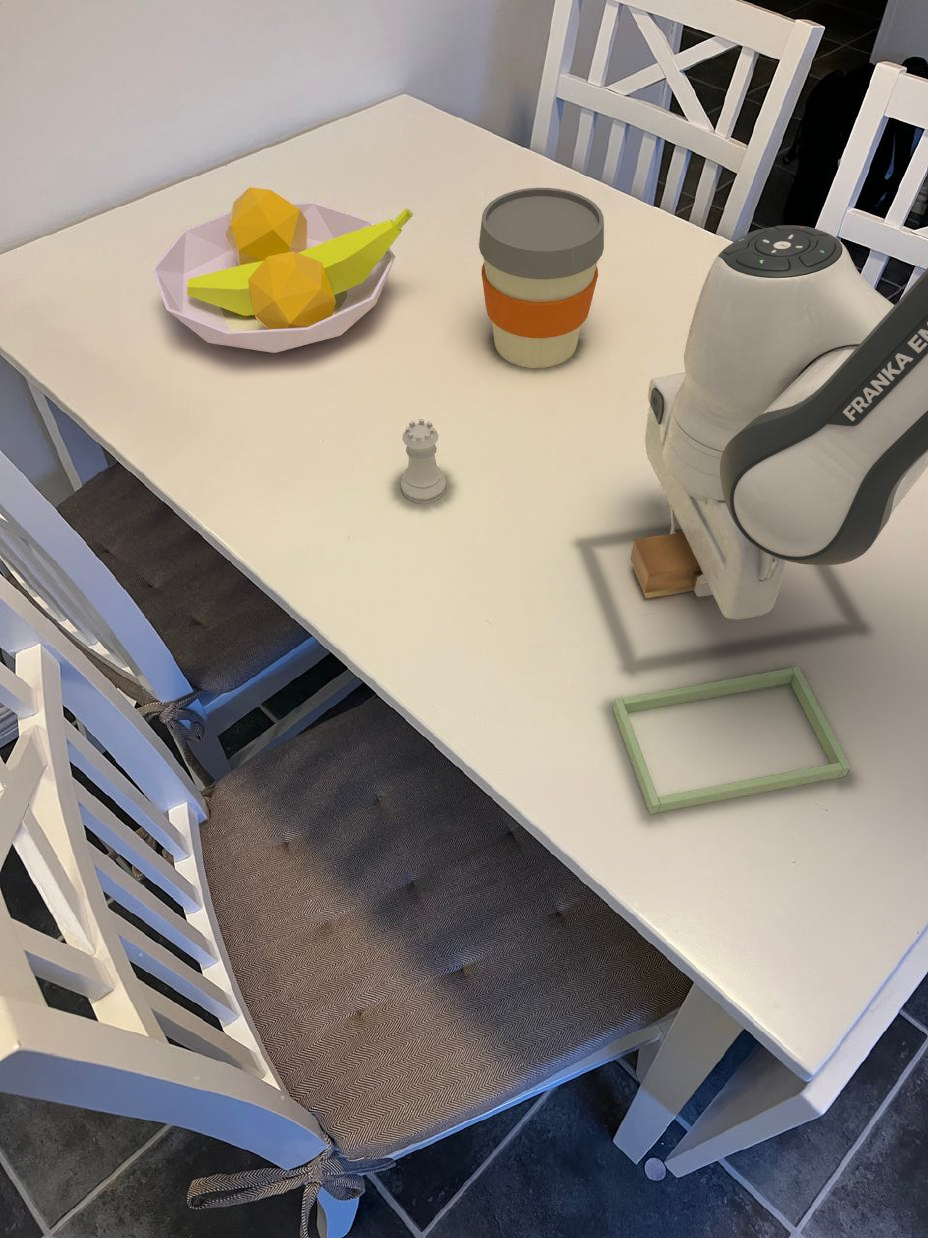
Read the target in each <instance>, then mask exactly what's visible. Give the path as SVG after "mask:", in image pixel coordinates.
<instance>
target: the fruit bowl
mask: <svg viewBox="0 0 928 1238" xmlns="http://www.w3.org/2000/svg"><path fill="white" fill-rule="evenodd" d="M413 216H414V213H413V212H412V211H411V210H410V208H406V207H405V208H404V209H403V211H402V212H400V214H398V216H396V218H395V219H394V220H392V219H389V220H385V221H381V222H379V223H376V224H374V223H373V221H372V220H369V219H367V218H363V217H360V216H357V215H354V214H351V213H347V212H345V211H342V210H338V209H335V208H334V207H333V208H332V207H330V206H326V205H323V204H321V203H317V202H305V203H304V202H302V203H301V202H300V203H291V202H290V201H288V200H286V199H285V198H284V197H283V196H281V195H279V194H278V193H277V192H274V191H273V190H272V189H268V188H258V187H250V186H249V187H248V188H247V189H246V190H245V191H243V193H242V194H240V195H239V196H238V198H236V199H235V200H234V201H233V203H232V207H231V210H230V212H226V213H224V214H222V215H220V216H217V217H215V218H212V219H209V220H207V221H204V222H202V223H200V224H199V223H198V224H197V225H194V226H191V227H189V228H187V229H184V230H182V232H181V233H180V234H179V236H178V237H177V238H176V239H175V241H174V242H173V243H172V244H171V246H170V247H169V248H168V249H167V251H166V252H165V253H164V254H163V255H162V257H161V258H160V259H159V261H158V262H157V263H156V264H155V265H154V267H153V268H152V269H151V270H152V271H151V272H152V273H153V277H154V279H155V282H156V284H157V288H158V290H159V293H160V297H161V298H162V300H163V304H164V307H165V310H166V311H167V312H169V313H170V314H171V315H172V316H173V317H175V318H176V319H177V320H178V321H180V322H181V323H183V324H184V325H185V326H186V327H187V328H189V329H190V330H191V331H192V332H194V333H195V334H196V335H197V336H198V337H200V338H202V339H203V340H204V341H205V342H206V343H208V344H213V345H221V346H226V347H227V346H228V347H232V348H240V349H247V350H253V351H259V352H266V353H272V354H276V353H277V354H278V353H280V352H284V351H287V350H293V349H295V348H299V347H303V346H306V345H310V344H315V343H318V342H321V341H325V340H329V339H333V338H337V337H339V336H340V337H341V336H342V335H343V334H344V333H345V332H347V331H348V330H349V329H350V328H351V327H352V326H354V324H355V323H357V322H358V321H359V320H360V319H361V318H362V317H364V316H365V315H366V314H368V312H369V311H371V310H372V309H373V308H374V307H375V306H376V305H377V303H378V301H379V298H380V296H381V293H382V290H383V288H384V286H385V284H386V282H387V278H388V276H389V274H390V272H391V269H392V267H393V264H394V261H395V259H396V255H395V254H394V252H393V251H392V250H391V247H392V245H393V244H394V243H395V241H396V240H397V238H398V237H399V236H400V235H401V232H402V231H403V230H402V228H403V227H404V226H405V225H406V224H407V223H408V221H410V219H411V218H412V217H413ZM345 291H346V297H345V299H344V301H343V302H342V305H341V306H340V308H339V309H338V311H337V313H335V314H334V310H335V307H336V304H337V301H336V298H335V296H336V295H339V294H341V293H342V292H343V293H344V292H345ZM222 309H224V310H226V311H230V312H232V313H235V314H238V315H241V316H243V317H249V316H254V317H255V320H256V321H257V322H258V323H259V324H260V325H262V326H263V327H264V328H265V329H256V330H255V329H253V330H236V331H231V330H230V328H229V325H228V323H227V320H226V318H225V315H224V313H223V311H222Z"/></svg>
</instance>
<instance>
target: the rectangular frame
mask: <svg viewBox="0 0 928 1238" xmlns="http://www.w3.org/2000/svg"><path fill="white" fill-rule="evenodd" d="M788 684H790V686H791V688H792V690H793V692H794V694H795V696H796V698H797V700H798V701H799V703H800V705H801V708H802V709H803V712H804V714H805V715H806V717H807V720H808V721H809V723H810V726H811V727H812V729H813V731H814V734H815V736H816V737H817V740H818V741H819V743H820V745H821V748H822V749H823V752H824V753H825V755H826V757H827V760H828V761H829V764H823V765H818V766H814V767H809V768H808V767H807V768H803V769H799V770H793V771H792V770H791V771H788V772H781V773H777V774H772V775H766V776H762V777H757V778H751V779H746V780H741V781H735V782H731V783H726V784H721V785H715V786H710V787H705V788H699V789H694V790H690V791H684V792H678V793H672V794H668V795H663V796H659V795H658V794H657V791H656V788H655V785H654V783H653V780H652V777H651V775H650V772H649V769H648V766H647V763H646V760H645V757H644V755H643V753H642V749H641V747H640V745H639V744H640V743H639V741H638V738H637V736H636V733H635V730H634V727H633V725H632V721H631V719H630V716H629V715H628V713H633V712H639V711H644V710H649V709H656V708H662V707H667V706H671V705H677V704H683V703H689V702H694V701H700V700H705V699H706V700H707V699H711V698H716V697H721V696H722V697H723V696H728V695H733V694H739V693H743V692H745V693H746V692H750V691H755V690H761V689H766V688H772V687H778V686H782V685H788ZM613 702H614V703H613V707H612V711H613V713H614V717H615V719H616V722H617V725H618V728H619V730H620V734H621V736H622V739H623V742H624V745H625V748H626V750H627V754H628V756H629V759H630V761H631V764H632V767H633V770H634V774H635V777H636V779H637V782H638V785H639V788H640V790H641V794H642V796H643V799H644V802H645V805H646V807H647V810H648V813H649V815H653V814H657V813H663V812H669V811H674V810H679V809H685V808H688V807H695V806H699V805H700V806H701V805H705V804H710V803H715V802H720V801H725V800H731V799H735V798H736V799H737V798H740V797H745V796H746V797H747V796H751V795H757V794H761V793H766V792H771V791H776V790H781V789H788V788H793V787H798V786H803V785H807V784H808V785H809V784H812V783H817V782H824V781H828V780H833V779H837V778H838V779H839V778H844V777H846V775H847V774H848V773H849V771H850V770H851V769H852V767H851V765H850V762H849V761H848V759H847V757H846V755H845V753H844V751H843V749H842V747H841V745H840V743H839V741H838V740H837V738H836V735H835V734H834V732H833V730H832V728H831V726H830V724H829V722H828V720H827V718H826V716H825V715H824V713H823V710H822V709H821V707H820V704H819V703H818V701H817V699H816V697H815V695H814V693H813V692H812V689H811V687H810V685H809V683H808V682H807V680H806V678H805V676H804V674H803V672H802V670H801V668H800V667H799V666H795V667H789V668H783V669H778V670H773V671H768V672H761V673H756V674H749V675H744V676H740V677H734V678H728V679H723V680H717V681H711V682H706V683H705V682H704V683H700V684H694V685H688V686H684V687H678V688H677V687H676V688H673V689H667V690H661V691H655V692H650V693H645V694H639V695H633V696H632V695H631V696H627V697H622V698H616V699H615V700H614V701H613Z"/></svg>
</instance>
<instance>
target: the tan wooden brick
mask: <svg viewBox="0 0 928 1238" xmlns="http://www.w3.org/2000/svg"><path fill="white" fill-rule="evenodd" d="M629 560H630V563H631V564H632V567H633V572H634V574H635V576H636V579H637V581H638V583H639V586H640V588H641V590H642V592H643V595H644V597H645V599H652V598H658V597H659V598H660V597H665V596H670V595H676V594H682V593H687V592H693V591H694V589H693V587H692V584H691V580H692V576H693V572H696V571H701V568H700V566H699V564H698V562H697V560H696V558H695V555H694V553H693V551H692V549H691V547H690V545H689V543H688V541H687V539H686V537H685V534H684V532H679V533H673V534H670V533H668V534H661V535H655V536H650V537H644V538H638V539H633V543H632V548H631V553H630V558H629Z"/></svg>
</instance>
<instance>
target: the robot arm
mask: <svg viewBox="0 0 928 1238" xmlns="http://www.w3.org/2000/svg"><path fill="white" fill-rule="evenodd" d="M690 322H691V323H690V326H689V328H688V329H689V331H688V334H687V338H686V342H685V346H684V353H683V367H684V372H677V373H673V374H667V375H663V376H657V377H654V378H651V379H650V382H649V384H648V390H647V400H648V403H649V406H648V411H647V417H646V423H645V433H644V434H645V435H644V447H645V452H646V456H647V460H648V461H649V463H650V465H651V468H652V469H653V471H654V473H655V476H656V478H657V480H658V482H659V484H660V487H661V488H662V491H663V493H664V494H665V496H666V499H667V501H668V504H669V512H670V513H669V514H670V525H671V527H670V532H669V534H673V533H679V532H684V534H685V537H686V539H687V541H688V543H689V545H690V547H691V549H692V551H693V553H694V555H695V558H696V560H697V562H698V564H699V566H700V568H701V571H696V572H693V576H692V580H691V584H692V587H693V589H694V593H695V596H696V597H698V598H701V597H708V596H712V595H713V598H714V599H715V602H716V604H717V605H718V608H719V610H720V612H721V614H722V615H723V617H724V618H725V619H727V620H744V619H750V618H751V619H752V618H755V617H756V618H757V617H761V616H764V615H767V614H769V613H770V612H771V611H772V610H773V608H774V607H775V604H776V601H777V598H778V594H779V592H780V588H781V584H782V581H783V577H784V572H785V568H786V564H787V563H786V562H789V563H795V564H800V565H808V566H809V565H810V566H836V565H843V564H846V563H849V562H853V561H854V560H857V559H858V558H860V557H861V556H863V555H864V554H865V553H867V552H868V550H870V548H871V547H872V546H873V545H874V543H875V541H876V540H877V538H878V537H879V535H880V534H881V532H882V531H883V530H884V528H885V527H886V525H887V524H888V522H889V520H890V518H891V515H892V514H893V512H894V511H895V510H896V509H897V507H898V506H899V505H900V503H901V502H902V501H903V499H905V498H906V496H907V494H908V493H909V492H910V491H911V489H912V488H913V487H914V486H915V484H916V483H917V482H918V480H919V479H920V478H921V476H922V475H923V474H924V473H925V471H926V470H927V469H928V267H926V269H925V270H924V271H923V272H922V273H921V275H920V276H919V277H918V278H917V279H916V281H914V283H913V284H912V285H911V287H910V288H908V290H907V291H906V292H905V293H904V294H903V295H902V297H900V299H899V300H898V301H897V302H896V303H895V304H893V303H892V302H891V301H889V300H888V299H887V298H886V297H885V296H883V295H882V294H881V293H880V292H879V291H877V290H876V289H875V288H874V287H873V286H871V284H870V283H868V281H866V279H865V278H864V277H863V276H862V275H861V273H860V272H859V270H858V269H857V268H856V266H855V263H854V262H853V260H852V258H851V255H850V253H849V251H848V249H847V247H846V246H845V245H844V244H843V242H842V241H841V240H840V239H838V238H837V237H835V236H833V235H832V234H831V233H828V232H826V231H824V230H821V229H818V228H814V227H810V226H805V225H791V224H790V225H788V224H787V225H785V224H784V225H775V226H771V227H766V228H761V229H760V228H759V229H756V230H753V231H750V232H748V233H747V234H745V235H742V236H740V237H739V238H738V239H735V240H734V241H733V242H732V243H730V244H729V245H728V246H726V247H725V248H723V250H721V251H720V252H719V253H718V255H716V257H715V258H714V260H713V261H712V263H711V266H710V267H709V270H708V272H707V273H706V276H705V279H704V281H703V284H702V287H701V289H700V292H699V295H698V298H697V301H696V304H695V308H694V312H693V315H692V318H691V321H690Z"/></svg>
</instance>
